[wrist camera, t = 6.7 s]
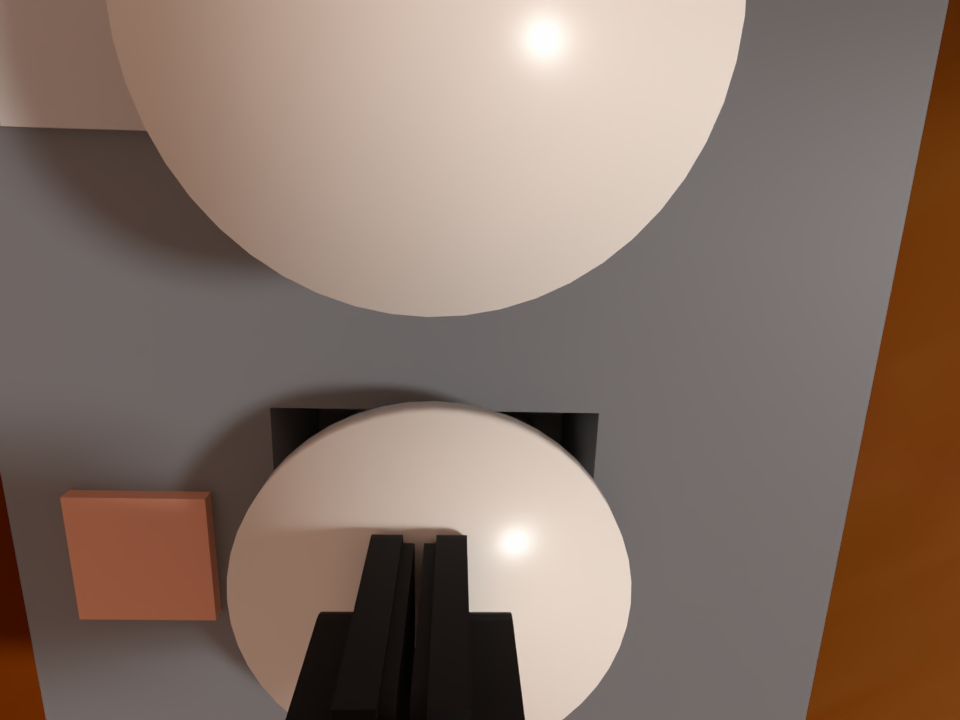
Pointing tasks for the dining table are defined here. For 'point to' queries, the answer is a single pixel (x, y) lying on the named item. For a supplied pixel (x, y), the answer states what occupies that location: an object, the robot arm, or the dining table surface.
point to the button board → (453, 372)
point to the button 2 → (419, 518)
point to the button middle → (429, 133)
